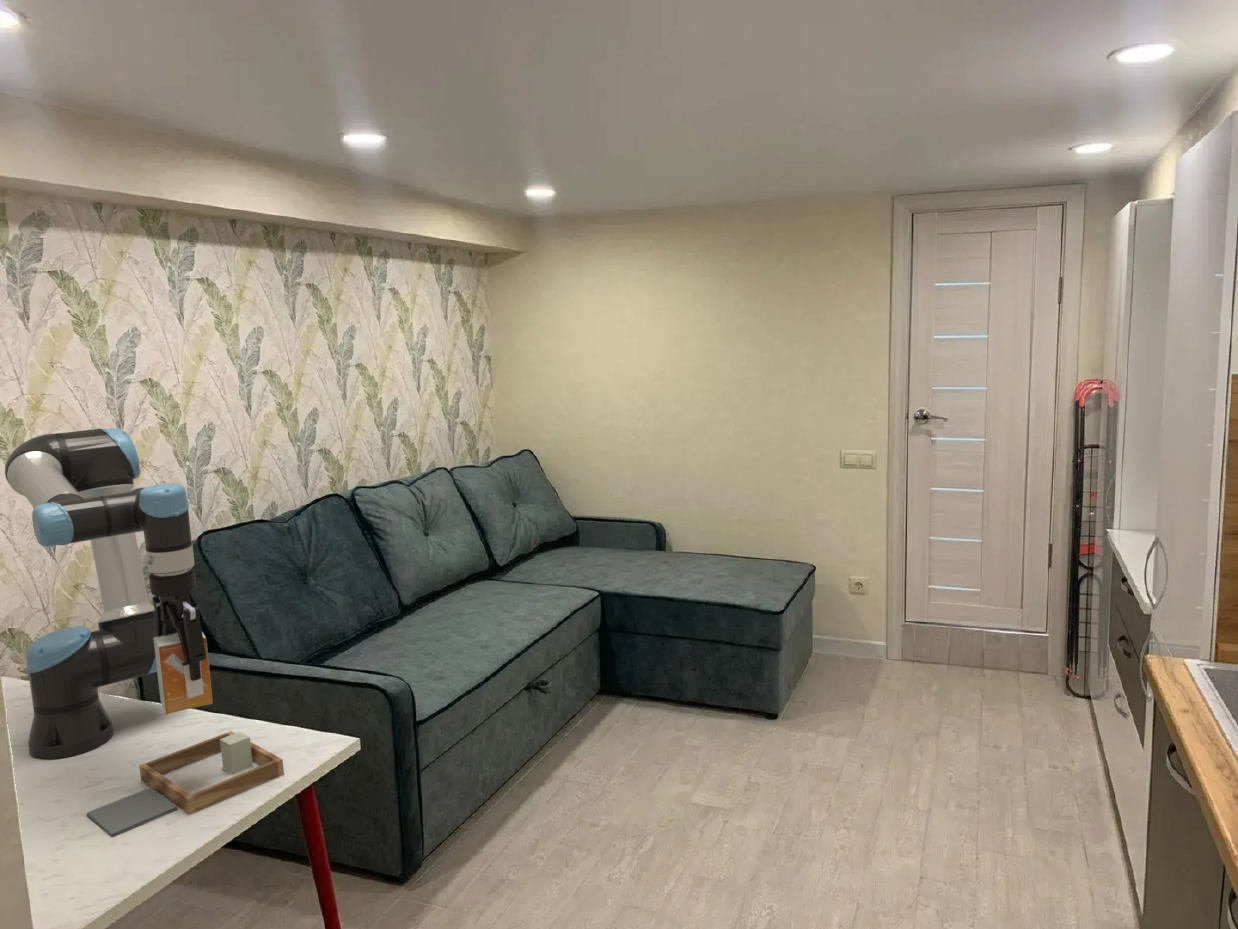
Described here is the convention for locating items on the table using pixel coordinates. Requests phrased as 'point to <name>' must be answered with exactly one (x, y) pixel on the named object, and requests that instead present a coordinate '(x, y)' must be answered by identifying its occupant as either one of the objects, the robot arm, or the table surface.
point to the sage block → (236, 752)
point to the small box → (178, 675)
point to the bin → (217, 792)
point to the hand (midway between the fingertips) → (185, 690)
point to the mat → (131, 811)
